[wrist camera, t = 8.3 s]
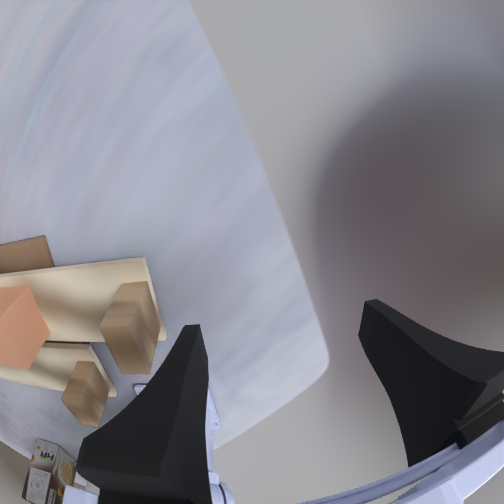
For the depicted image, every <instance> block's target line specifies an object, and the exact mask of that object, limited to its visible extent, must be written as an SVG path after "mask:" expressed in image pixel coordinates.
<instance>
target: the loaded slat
mask: <svg viewBox="0 0 504 504" xmlns="http://www.w3.org/2000/svg"><path fill="white" fill-rule="evenodd" d="M27 285H29V287H30V290H31V292H32V295H33V297H34V299H35V301H36V304H37V306H38V308H39V310H40V312H41V314H42V316H43V318H44V320H45V322H46V324H47V326H48V328H49V330H50V332H51V333H50V334H49V336H48V338H47V339H46V340H50V341H75V342H106V344H107V346H108V348H109V350H110V352H111V354H112V356H113V358H114V360H115V362H116V364H117V365H118V367H119V369H120V371H121V373H122V374H150V371H151V366H152V362H153V357H154V353H155V349H156V344H157V341H161V340H166V337H167V332H166V329H165V326H164V323H163V319H162V316H161V313H160V310H159V306H158V303H157V299H156V296H155V292H154V289H153V285H152V282H151V278H150V274H149V270H148V266H147V262H146V258H145V257H137V258H128V259H120V260H111V261H103V262H94V263H86V264H78V265H69V266H61V267H53V268H45V269H37V270H29V271H21V272H13V273H5V274H0V288H2V287H15V286H27Z"/></svg>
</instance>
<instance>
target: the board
mask: <svg viewBox="0 0 504 504" xmlns="http://www.w3.org/2000/svg"><path fill="white" fill-rule="evenodd" d="M53 267H55V266H54V263H53V260H52V257H51V254H50V250H49V247H48V244H47V241H46V237H45V235H43V236H38V237H34V238H29V239H24V240H20V241H15V242H11V243H6V244H2V245H0V274H5V273H13V272H21V271H29V270H37V269H45V268H53ZM45 342H47V343H66V344H88V343H87V342H75V341H50V340H46V341H45Z"/></svg>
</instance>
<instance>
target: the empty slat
mask: <svg viewBox="0 0 504 504" xmlns="http://www.w3.org/2000/svg"><path fill="white" fill-rule="evenodd" d="M0 377H1V378H2V379H5V380H9V381H13V382H17V383H21V384H26V385H31V386H36V387H41V388H46V389H52V390H58V391H64V393H63V396H62V398H61V400H62V401H63V403H64V404H65V405H66V406H67V408H68V409H69V410H70V411H71V412H72V414H73V415H74V416H75V417H76V418H77V419H78V420H79V422H80V423H81V424H82V425H88V426H94V427H99V426H100V422H101V418H102V415H103V411H104V408H105V404H106V401H107V397H108V396H109V397H116V395H117V390H116V388H115V387H114V385H113V384H112V382H111V380H110V379H109V377H108V375H107V373H106V372H105V370H104V368H103V367H102V365H101V363H100V361H99V359H98V358H97V356H96V354H95V352H94V350H93V348H92V346H91V344H66V343H47V342H44V344H43V346H42V347H41V349H40V351H39V352H38V354H37V356H36V357H35V359H34V361H33V363H32V364H31V366H30V368H29V370H27V369H22V368H16V367H11V366H6V365H1V364H0Z"/></svg>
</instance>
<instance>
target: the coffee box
mask: <svg viewBox="0 0 504 504" xmlns="http://www.w3.org/2000/svg"><path fill="white" fill-rule="evenodd" d="M76 464H77V461H75V460H74V459H73V458H72V457H71V456H70V455H68V454H67V453H66V452H65V451H64V450H63V449H62V448H61V447H60V446H59V445H57V444H53V443H50V442H47V441H44V440H41V439H38V440H37V443H36V446H35V449H34V452H33V456H32V459H31V462H30V466H29V470H28V473H27V477H26V481H25V485H24V489H23V493H22V498H24V499H25V500H27V501H29V502H30V503H32V504H62V502H63V497H64V492H65V487H66V486H67V485H69V486H72V487H73V483H74V478H75V473H76Z"/></svg>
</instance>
